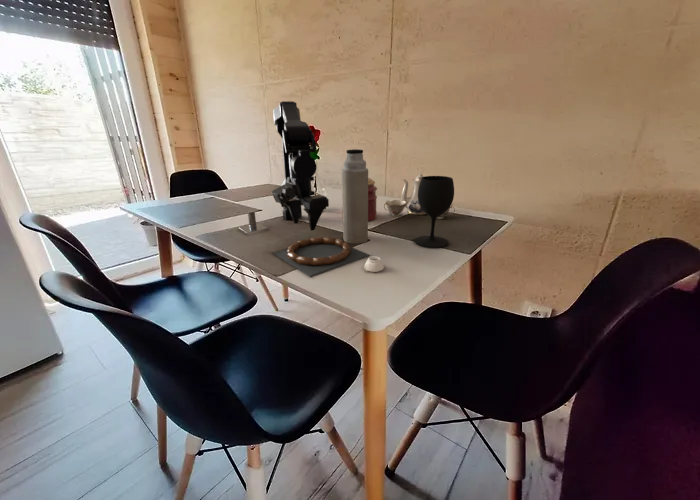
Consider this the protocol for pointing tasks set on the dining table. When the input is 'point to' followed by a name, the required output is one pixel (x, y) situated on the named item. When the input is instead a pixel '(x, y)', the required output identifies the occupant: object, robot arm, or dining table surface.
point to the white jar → (374, 264)
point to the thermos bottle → (355, 198)
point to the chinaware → (410, 201)
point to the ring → (318, 261)
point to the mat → (320, 252)
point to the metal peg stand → (252, 224)
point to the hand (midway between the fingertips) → (304, 226)
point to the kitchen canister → (371, 200)
